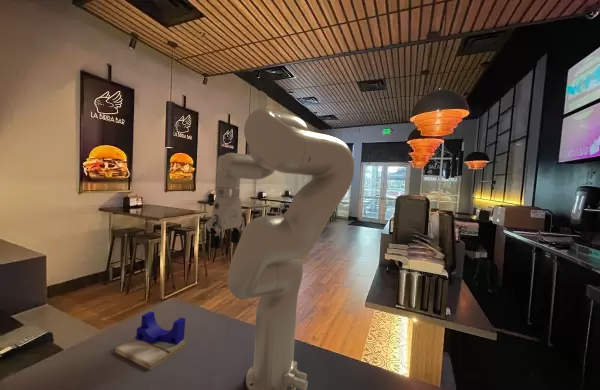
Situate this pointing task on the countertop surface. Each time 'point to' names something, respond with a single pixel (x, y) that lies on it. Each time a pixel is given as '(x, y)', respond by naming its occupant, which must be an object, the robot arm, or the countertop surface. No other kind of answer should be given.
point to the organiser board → (148, 351)
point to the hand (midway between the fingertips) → (225, 245)
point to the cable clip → (160, 330)
